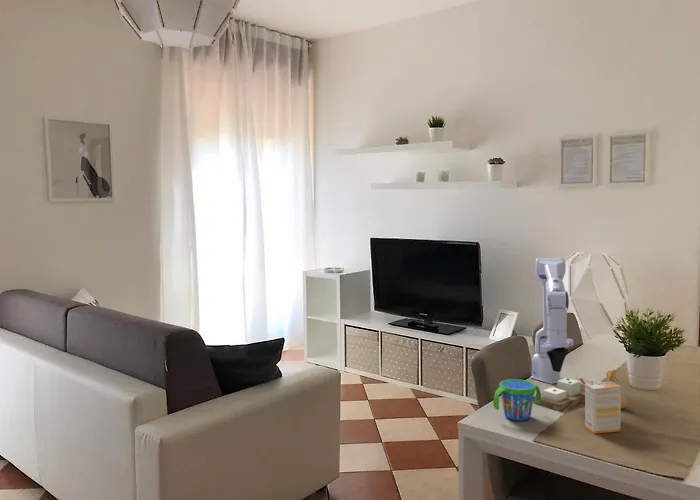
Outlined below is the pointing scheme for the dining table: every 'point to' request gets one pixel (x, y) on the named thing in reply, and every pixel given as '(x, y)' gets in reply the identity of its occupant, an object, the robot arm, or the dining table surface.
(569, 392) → the tile two
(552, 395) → the tile one
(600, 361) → the dining table surface
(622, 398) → the figurine
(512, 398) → the snack cup
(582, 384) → the tile three
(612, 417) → the supplement box
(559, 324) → the robot arm
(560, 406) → the tile board
